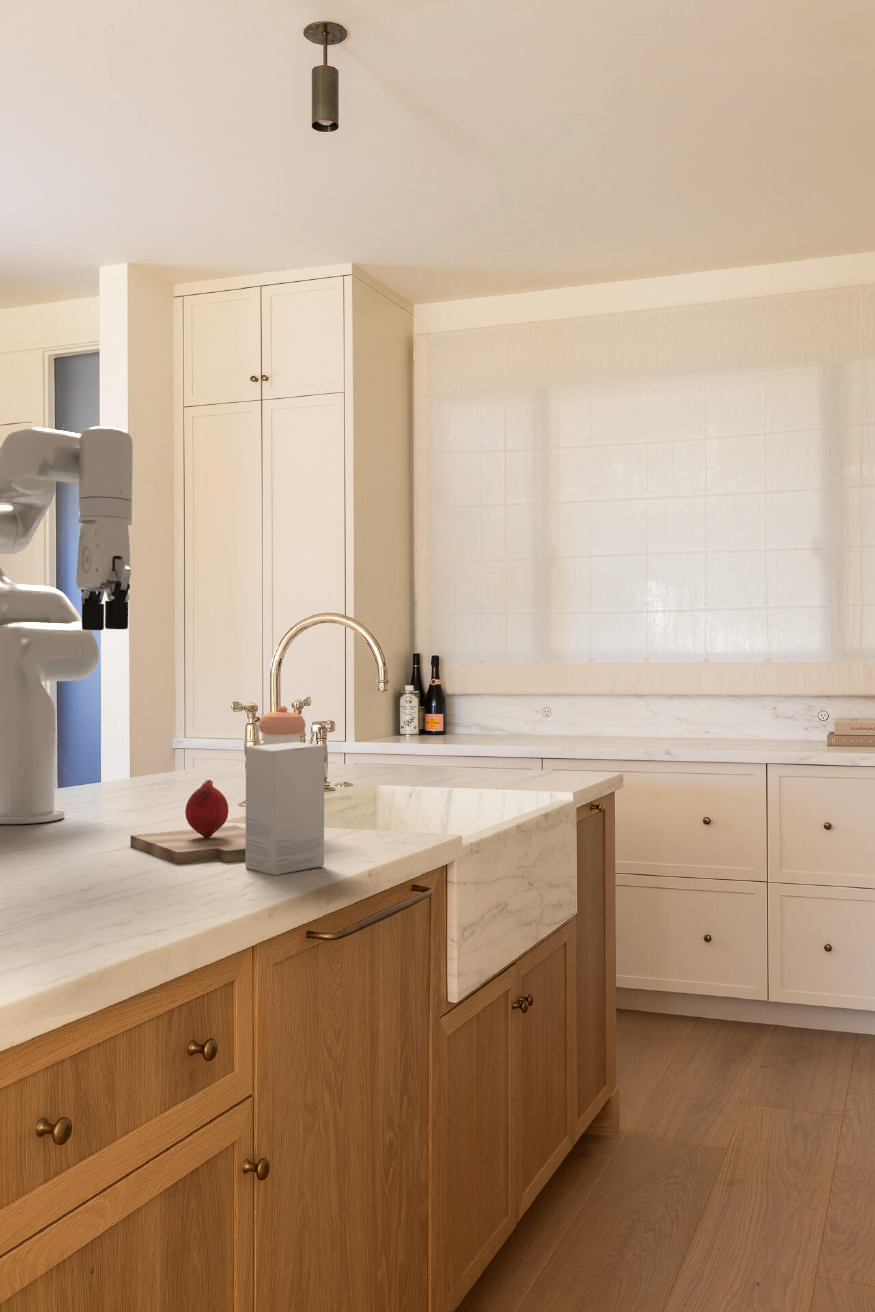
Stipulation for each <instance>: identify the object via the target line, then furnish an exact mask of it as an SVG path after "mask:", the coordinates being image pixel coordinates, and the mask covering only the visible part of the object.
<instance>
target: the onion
mask: <svg viewBox="0 0 875 1312" xmlns="http://www.w3.org/2000/svg"><path fill="white" fill-rule="evenodd" d="M213 784H214V781H212V780H211V779H205V781H204V782H202V784H201V786H200V787H199V788H197V789H196V790H194V792H193V793H192V794H191V795H190V797H189V798H188V801H187V803H186V805H185V811H184V813H185V818H186V821H187V823H188V825H189V826H190V827H191V828H192V830H193V829H194V830H195V831H196V832H198V833H199V834H201V835H202V836H203V837H205V838H207V837H211V836H212V835H213V834H214V833H215V832H216V831H217V830H218V829H219V828H221V827H224V825H225V823H226V821H227V820H228V815H229V803H228V801H227V799H226V797H225V795H224V794H223V793H222V792H221V791H220V790H219V789H218V788H216V787H215V786H214V785H213Z"/></svg>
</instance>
